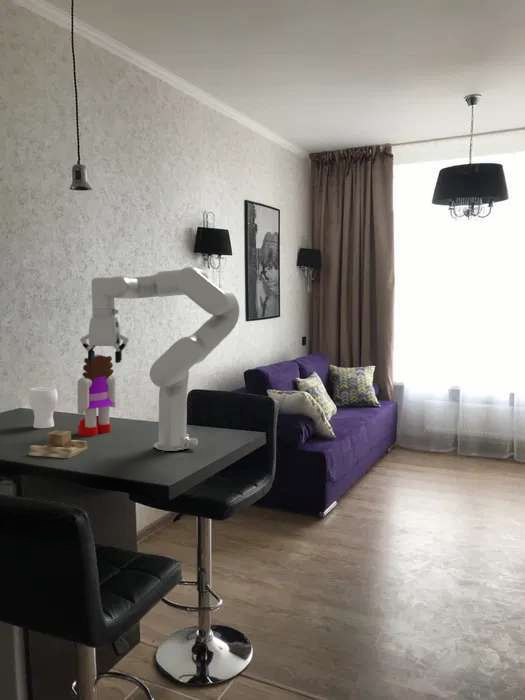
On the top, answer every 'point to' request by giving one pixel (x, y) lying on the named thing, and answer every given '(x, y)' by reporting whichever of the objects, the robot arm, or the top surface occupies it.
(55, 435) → the walnut block
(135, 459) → the top surface
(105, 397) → the toy
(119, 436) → the top surface
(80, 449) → the board
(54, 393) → the cup
